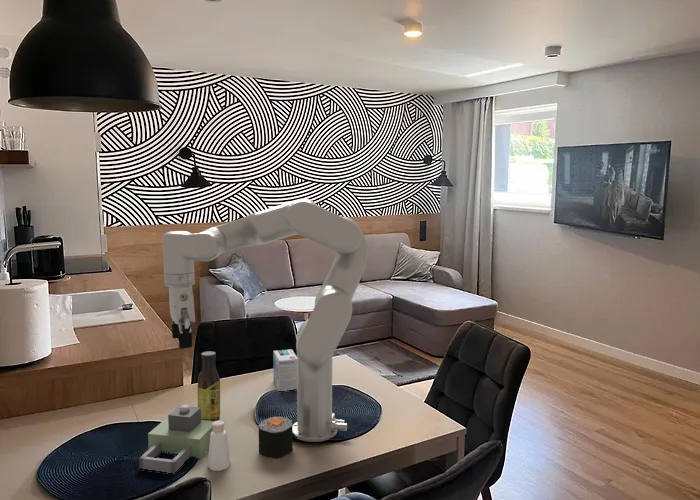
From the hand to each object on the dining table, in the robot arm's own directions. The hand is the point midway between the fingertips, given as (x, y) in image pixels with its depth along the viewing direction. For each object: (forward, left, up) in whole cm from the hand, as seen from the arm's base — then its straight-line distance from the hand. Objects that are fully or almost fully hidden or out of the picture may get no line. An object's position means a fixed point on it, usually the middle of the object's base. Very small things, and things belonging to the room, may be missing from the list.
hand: (182, 342), depth 145 cm
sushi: (-27, +3, -26) cm, 37 cm away
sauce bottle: (-3, -9, -26) cm, 28 cm away
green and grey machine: (-3, +10, -26) cm, 28 cm away
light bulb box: (-16, -39, -26) cm, 50 cm away
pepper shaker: (-16, +13, -26) cm, 33 cm away
